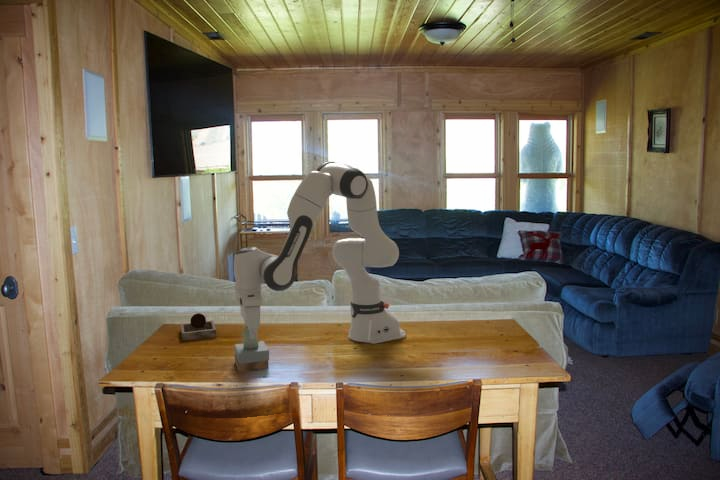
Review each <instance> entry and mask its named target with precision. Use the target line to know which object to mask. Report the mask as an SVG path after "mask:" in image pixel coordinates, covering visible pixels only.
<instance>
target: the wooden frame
mask: <svg viewBox="0 0 720 480" xmlns="http://www.w3.org/2000/svg"><path fill="white" fill-rule="evenodd" d="M202 328H205V329H206V330H201V331H193V330H194V329H197V328H194V327H193V326H192V325H191V322H186V323H181V324H180V332H181V333H180V334H181V340H182V341H193V340H202V339H209V338H216V337H217V328H216V325H215V321H214V320H206V323H205V325H204V326H203V327H202ZM210 328H211V329H210ZM208 329H210V330H208Z"/></svg>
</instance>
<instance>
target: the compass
mask: <svg viewBox="0 0 720 480" xmlns="http://www.w3.org/2000/svg"><path fill="white" fill-rule="evenodd" d="M206 321H207V318H206V316H205V315H204V314H202V313H199V312H197V313H195V314H192V316H191V317H190V323H191V325H192V326H193V327H194V328H197V329H194V330H193V331H201V330H210V329H205V328H202V327H203V326H204V325H205V323H206Z"/></svg>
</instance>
